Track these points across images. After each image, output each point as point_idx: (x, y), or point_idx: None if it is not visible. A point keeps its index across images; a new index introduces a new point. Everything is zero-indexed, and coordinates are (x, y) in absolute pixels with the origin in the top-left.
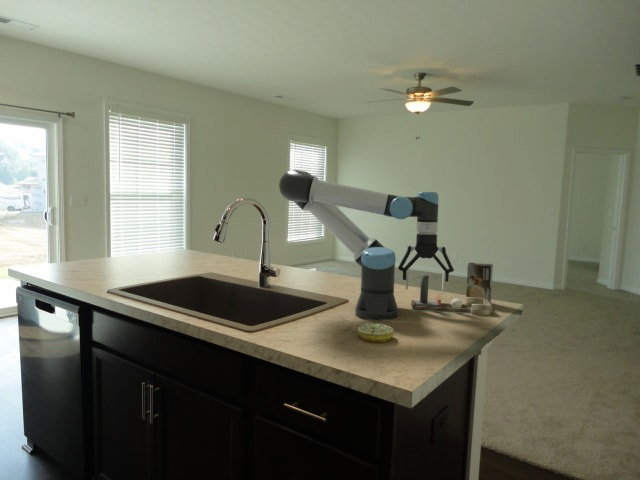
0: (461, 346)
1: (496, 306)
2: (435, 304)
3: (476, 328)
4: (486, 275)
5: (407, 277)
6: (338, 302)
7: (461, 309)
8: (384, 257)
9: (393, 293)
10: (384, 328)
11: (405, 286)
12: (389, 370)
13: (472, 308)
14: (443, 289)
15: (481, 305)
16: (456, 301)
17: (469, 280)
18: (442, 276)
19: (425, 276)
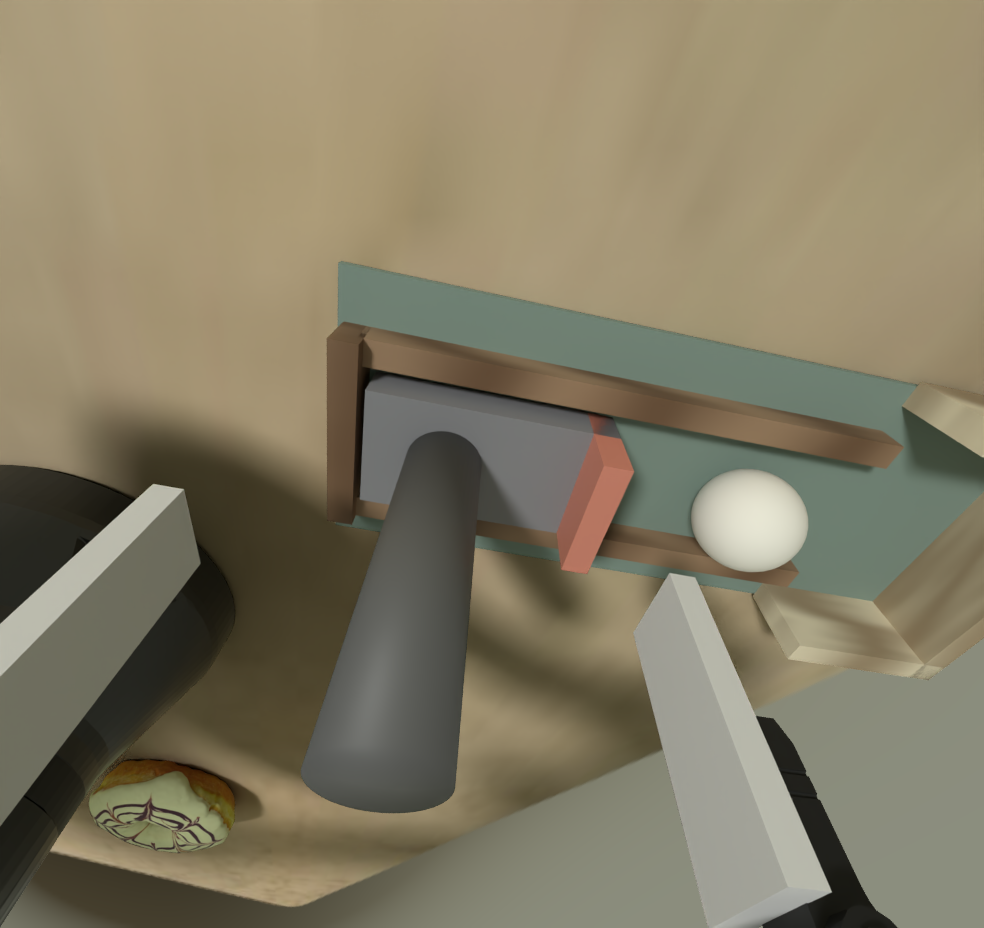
0: (457, 829)
1: None
2: (537, 522)
3: (607, 743)
4: None
5: (60, 728)
6: None
7: (718, 573)
8: None
9: (93, 777)
10: (190, 846)
11: (138, 502)
12: (252, 879)
13: (775, 631)
14: (642, 648)
15: (851, 664)
16: (735, 569)
17: None
18: (743, 775)
19: (380, 805)
